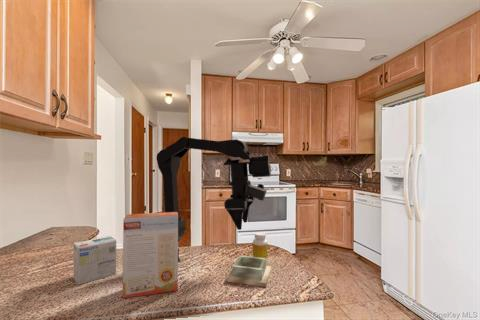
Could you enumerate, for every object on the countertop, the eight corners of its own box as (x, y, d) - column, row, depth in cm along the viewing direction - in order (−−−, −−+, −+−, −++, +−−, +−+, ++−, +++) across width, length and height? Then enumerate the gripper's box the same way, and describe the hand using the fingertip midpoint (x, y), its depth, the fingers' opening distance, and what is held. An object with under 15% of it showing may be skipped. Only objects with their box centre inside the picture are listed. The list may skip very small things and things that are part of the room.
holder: (226, 281, 72) (226, 267, 72) (236, 264, 84) (237, 253, 84) (266, 286, 69) (266, 272, 69) (271, 269, 81) (271, 257, 81)
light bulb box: (110, 267, 81) (110, 235, 81) (117, 274, 76) (117, 239, 76) (72, 277, 74) (72, 242, 74) (76, 286, 69) (77, 247, 69)
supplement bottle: (266, 264, 85) (266, 236, 85) (251, 262, 86) (251, 235, 86) (268, 258, 90) (268, 232, 90) (253, 257, 91) (253, 231, 91)
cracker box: (177, 281, 72) (178, 210, 72) (177, 292, 66) (178, 215, 66) (125, 287, 68) (127, 213, 68) (121, 299, 62) (123, 217, 63)
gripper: (259, 178, 69) (263, 234, 69) (267, 175, 87) (270, 218, 87) (222, 180, 71) (225, 234, 71) (237, 177, 90) (239, 219, 89)
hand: (242, 225), depth 79 cm, fingers open, 9 cm apart
